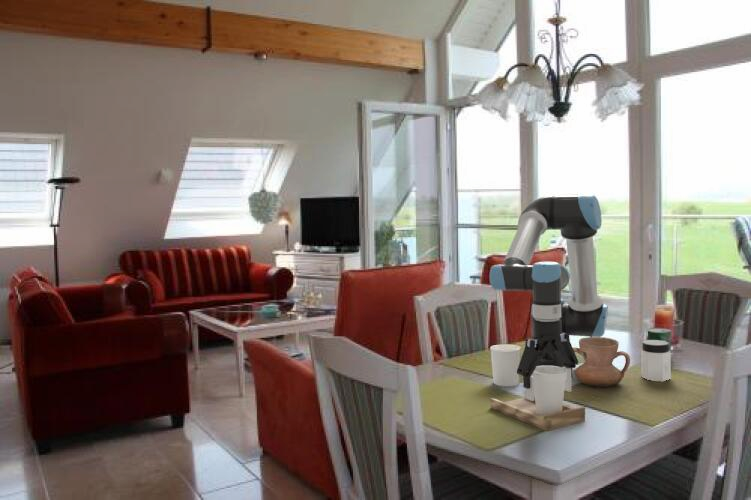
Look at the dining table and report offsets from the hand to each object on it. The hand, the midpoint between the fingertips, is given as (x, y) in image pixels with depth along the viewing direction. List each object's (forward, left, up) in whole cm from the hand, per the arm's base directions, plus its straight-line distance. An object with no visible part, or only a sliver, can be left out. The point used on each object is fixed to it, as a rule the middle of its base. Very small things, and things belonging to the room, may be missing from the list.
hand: (548, 394), depth 177 cm
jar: (-9, +56, -7) cm, 57 cm away
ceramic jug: (-15, +37, -7) cm, 40 cm away
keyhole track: (-5, 0, -7) cm, 8 cm away
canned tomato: (-24, +77, -7) cm, 81 cm away
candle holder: (-33, +13, -7) cm, 36 cm away
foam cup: (0, 0, -6) cm, 6 cm away
